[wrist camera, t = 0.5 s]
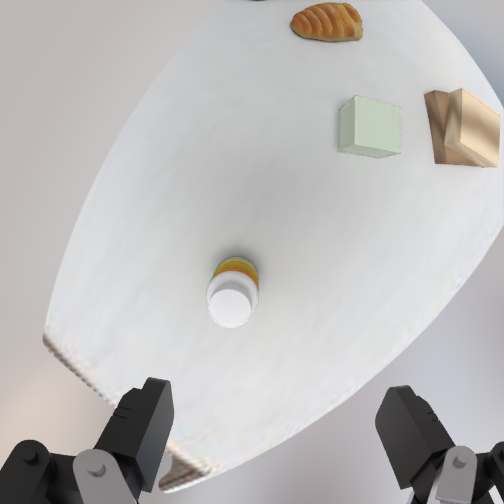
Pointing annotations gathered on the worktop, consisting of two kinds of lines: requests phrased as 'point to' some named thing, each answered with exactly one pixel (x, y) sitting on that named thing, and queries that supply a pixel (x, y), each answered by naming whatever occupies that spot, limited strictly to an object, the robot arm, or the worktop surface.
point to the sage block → (369, 128)
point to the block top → (472, 128)
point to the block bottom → (441, 130)
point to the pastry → (329, 22)
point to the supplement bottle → (233, 292)
